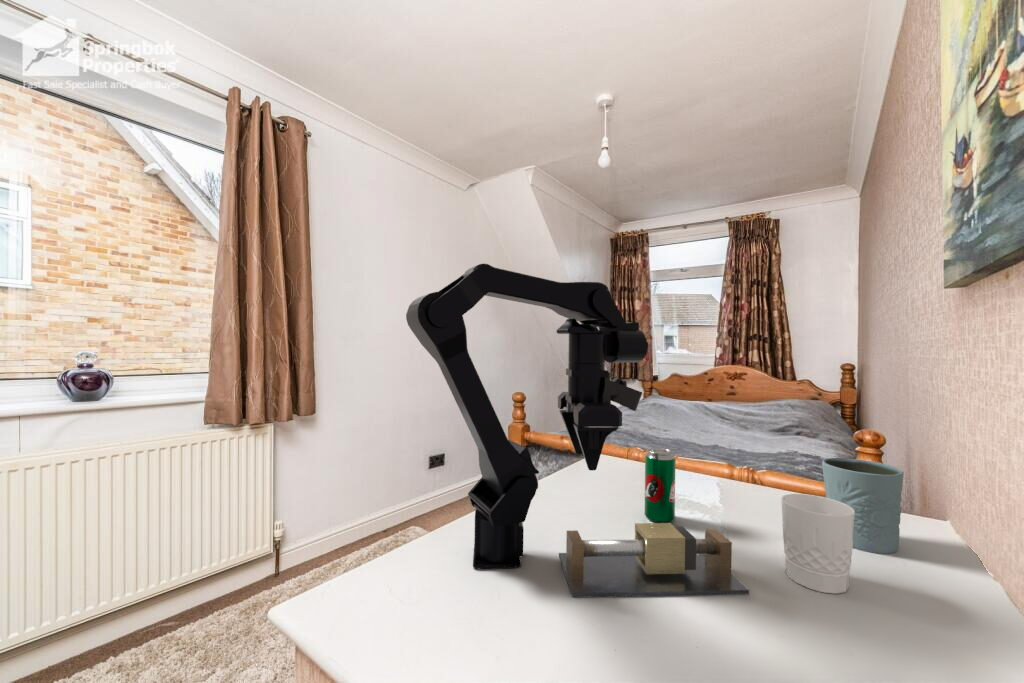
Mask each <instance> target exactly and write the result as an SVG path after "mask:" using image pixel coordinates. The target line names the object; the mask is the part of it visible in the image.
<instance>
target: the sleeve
mask: <svg viewBox="0 0 1024 683" xmlns="http://www.w3.org/2000/svg"><path fill="white" fill-rule="evenodd" d="M674 526H675V525H673V524H672V522H670V523H656V522H646V523H645V522H641V523H639V522H638V523H637V522H634V540H640V539H644V540H645V556H635V558H636V559H637V561H638V562H639V564H640V565H641V567H642V568H643V569H644V571H645V572H646V574H685V537H684V536H683V535H682V534H681V533H680V532H679V531H678V530H677V529H676V528H675V527H674Z"/></svg>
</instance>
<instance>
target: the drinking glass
mask: <svg viewBox="0 0 1024 683" xmlns="http://www.w3.org/2000/svg"><path fill="white" fill-rule="evenodd" d="M821 463H822V464H821V465H822V474H823V483H824V484H823V485H824V490H825V498H829V499H833V500H836V501H839V502H842V503H844V504H846V505H848V506H850V507H852V508H853V509H854V511H855V517H854V532H853V548H852V549H855V550H858V551H863V552H866V553H867V552H868V553H873V554H881V555H890V554H894V553H896V552H898V550H899V546H900V545H899V543H900V530H901V529H900V524H901V514H902V507H901V502H902V490H903V483H904V471H903V470H902V469H901V468H898V467H896V466H894V465H890V464H886V463H883V462H878V461H871V460H866V459H865V460H864V459H858V458H846V457H845V458H844V457H830V458H829V457H828V458H824V459H823V460H822V462H821Z"/></svg>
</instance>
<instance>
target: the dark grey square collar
mask: <svg viewBox="0 0 1024 683" xmlns="http://www.w3.org/2000/svg"><path fill="white" fill-rule="evenodd" d="M673 526H674V527H675V528H676V529H677V530H678V531H679V532H680V533H681V534H682V535H683V536H684V537H685V570H696V539H697V538H696V537H695V536H694V535H693V534H692V533H690V531H689V530H687V528H685V526H683V525H673Z"/></svg>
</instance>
